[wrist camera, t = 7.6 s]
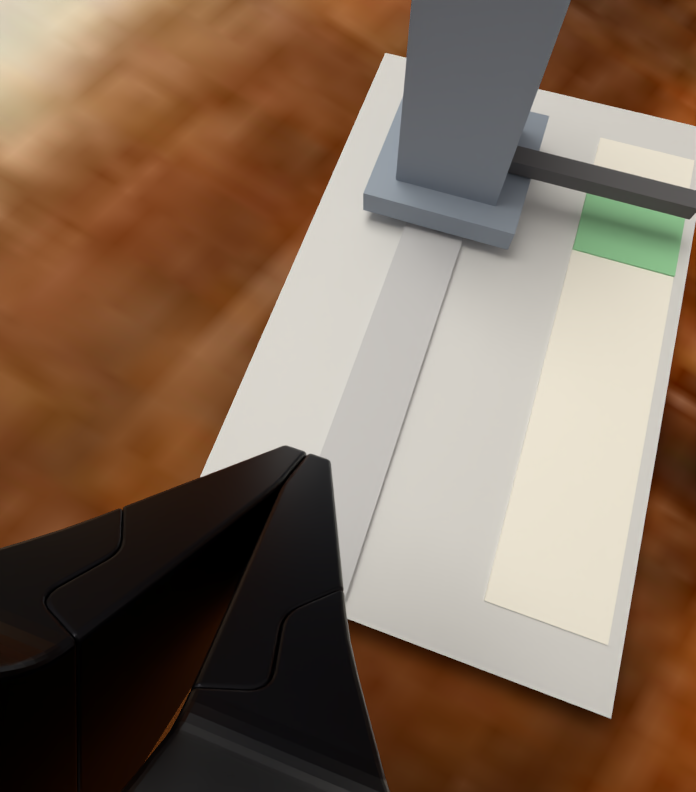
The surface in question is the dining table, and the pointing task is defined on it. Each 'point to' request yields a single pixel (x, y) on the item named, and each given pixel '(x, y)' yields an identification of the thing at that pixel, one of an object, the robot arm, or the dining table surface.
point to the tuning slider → (485, 125)
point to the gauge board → (484, 399)
